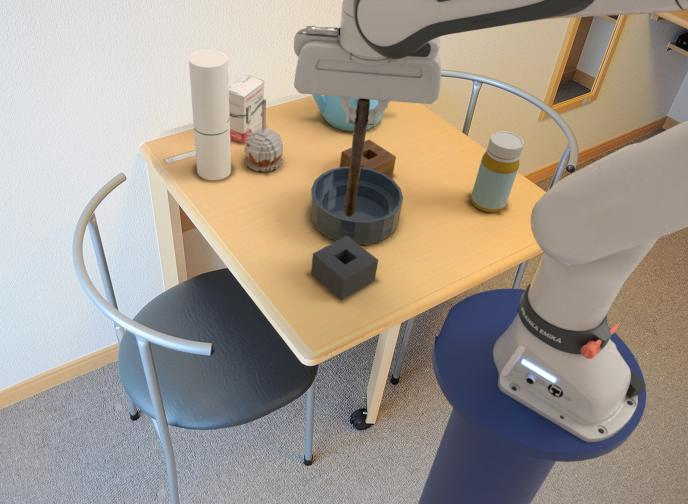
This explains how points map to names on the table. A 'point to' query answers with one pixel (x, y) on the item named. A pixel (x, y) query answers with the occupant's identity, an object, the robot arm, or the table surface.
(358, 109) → the stick
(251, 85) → the ink box
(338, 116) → the teapot
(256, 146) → the grey round-headed piece
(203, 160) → the cylindrical container
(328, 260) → the stand
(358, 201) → the bowl
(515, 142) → the bottle
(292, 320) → the table surface
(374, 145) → the holder
